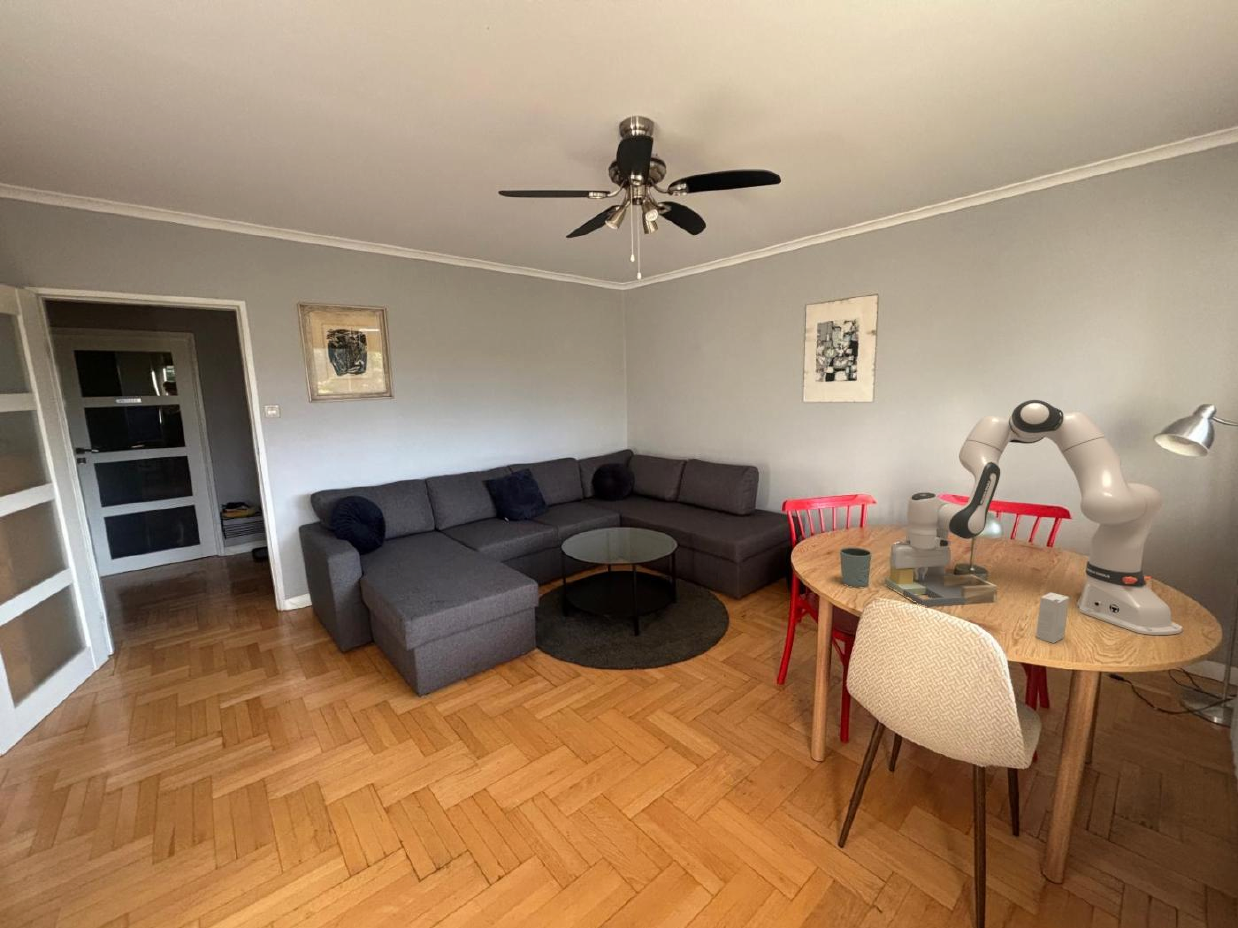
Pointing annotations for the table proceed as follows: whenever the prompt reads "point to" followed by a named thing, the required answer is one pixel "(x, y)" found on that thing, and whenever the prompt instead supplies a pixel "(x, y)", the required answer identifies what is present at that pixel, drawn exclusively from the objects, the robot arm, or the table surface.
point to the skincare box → (1052, 617)
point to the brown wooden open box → (972, 588)
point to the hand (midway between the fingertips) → (918, 578)
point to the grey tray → (932, 591)
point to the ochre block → (901, 575)
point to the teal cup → (855, 566)
